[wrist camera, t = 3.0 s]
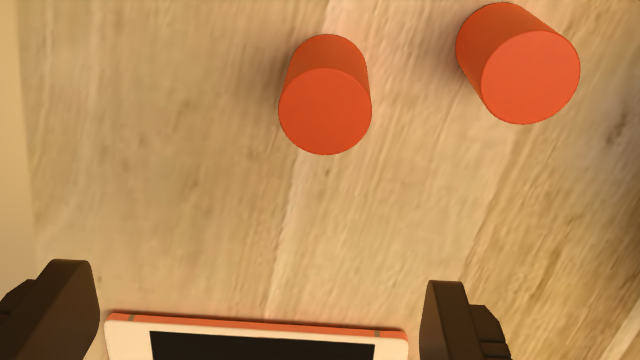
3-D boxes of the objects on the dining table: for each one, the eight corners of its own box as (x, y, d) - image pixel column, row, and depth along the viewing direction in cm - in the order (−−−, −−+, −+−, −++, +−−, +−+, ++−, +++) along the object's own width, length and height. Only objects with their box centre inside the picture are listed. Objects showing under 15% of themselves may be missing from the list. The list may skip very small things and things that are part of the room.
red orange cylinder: (282, 100, 26) (270, 145, 22) (297, 25, 24) (287, 57, 20) (356, 116, 26) (358, 164, 22) (375, 43, 24) (383, 79, 20)
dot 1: (444, 73, 25) (465, 114, 21) (471, -7, 23) (501, 19, 19) (518, 90, 25) (555, 134, 21) (551, 12, 24) (599, 42, 19)
